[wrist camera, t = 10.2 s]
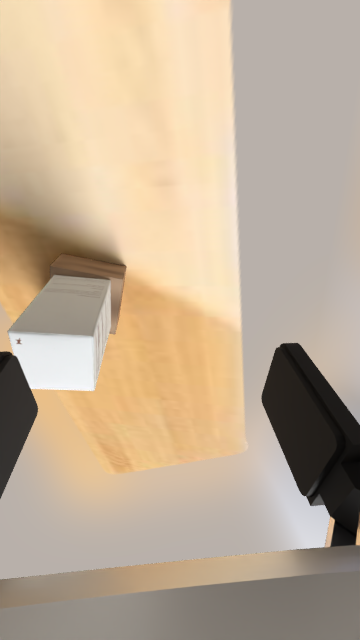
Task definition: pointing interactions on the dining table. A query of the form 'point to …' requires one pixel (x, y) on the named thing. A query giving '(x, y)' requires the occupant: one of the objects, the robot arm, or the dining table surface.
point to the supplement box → (64, 333)
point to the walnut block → (96, 270)
